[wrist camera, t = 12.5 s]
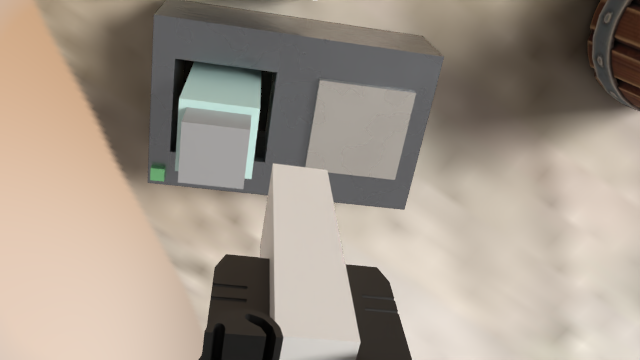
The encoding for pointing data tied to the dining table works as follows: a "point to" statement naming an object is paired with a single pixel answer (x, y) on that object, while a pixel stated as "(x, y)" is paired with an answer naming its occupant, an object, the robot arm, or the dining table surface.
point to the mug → (617, 49)
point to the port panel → (304, 96)
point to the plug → (218, 125)
